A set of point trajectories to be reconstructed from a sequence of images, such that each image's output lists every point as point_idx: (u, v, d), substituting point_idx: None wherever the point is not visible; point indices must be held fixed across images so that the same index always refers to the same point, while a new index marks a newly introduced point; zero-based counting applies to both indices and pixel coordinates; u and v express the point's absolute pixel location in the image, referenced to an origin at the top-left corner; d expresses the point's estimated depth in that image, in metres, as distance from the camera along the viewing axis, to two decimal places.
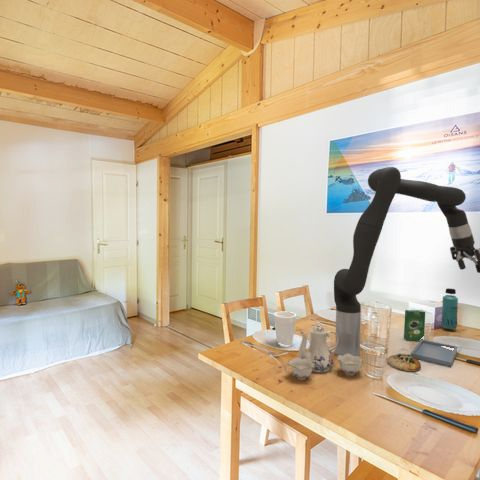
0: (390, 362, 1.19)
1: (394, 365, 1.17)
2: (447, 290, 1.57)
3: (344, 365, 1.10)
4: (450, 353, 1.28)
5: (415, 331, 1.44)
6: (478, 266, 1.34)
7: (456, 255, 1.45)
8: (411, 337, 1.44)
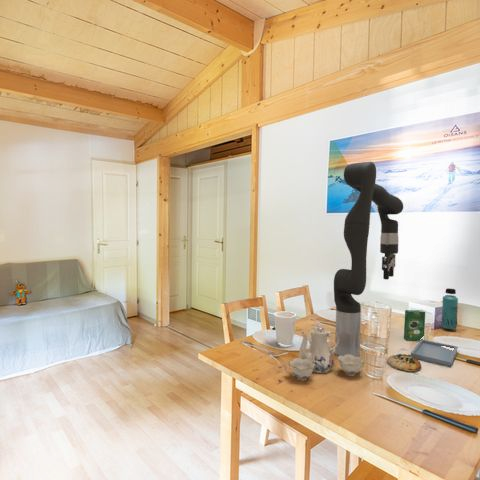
0: (390, 362, 1.19)
1: (394, 365, 1.17)
2: (447, 290, 1.57)
3: (345, 365, 1.10)
4: (450, 353, 1.28)
5: (415, 331, 1.44)
6: (384, 272, 1.48)
7: (394, 263, 1.56)
8: (411, 337, 1.44)
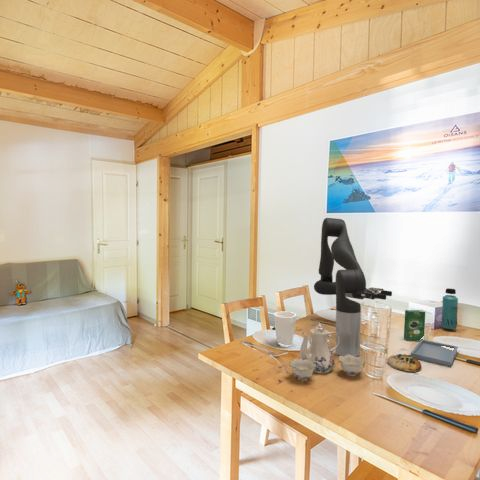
0: (390, 362, 1.19)
1: (394, 365, 1.17)
2: (447, 290, 1.57)
3: (345, 366, 1.10)
4: (450, 353, 1.28)
5: (415, 331, 1.44)
6: None
7: (371, 297, 1.50)
8: (411, 337, 1.44)
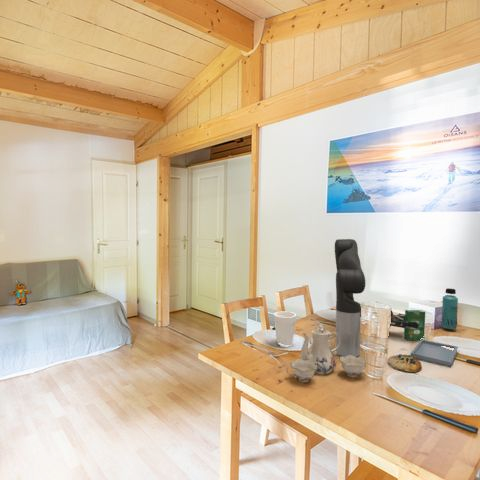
0: (391, 363, 1.18)
1: (395, 366, 1.16)
2: (447, 290, 1.57)
3: (347, 367, 1.09)
4: (450, 353, 1.28)
5: (415, 331, 1.44)
6: None
7: (402, 326, 1.42)
8: (411, 337, 1.44)
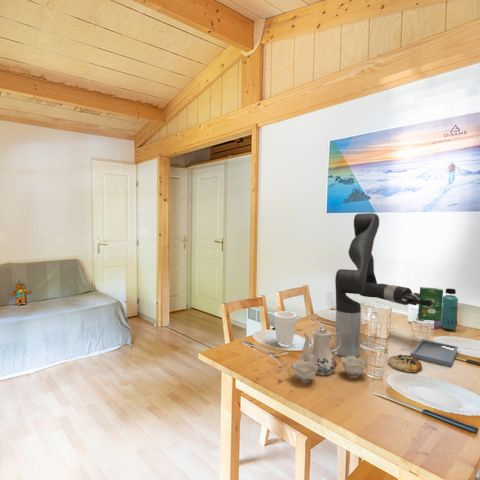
0: (391, 363, 1.18)
1: (395, 366, 1.16)
2: (447, 290, 1.57)
3: (348, 367, 1.09)
4: (450, 353, 1.28)
5: (430, 310, 1.32)
6: None
7: (412, 303, 1.33)
8: (424, 316, 1.33)
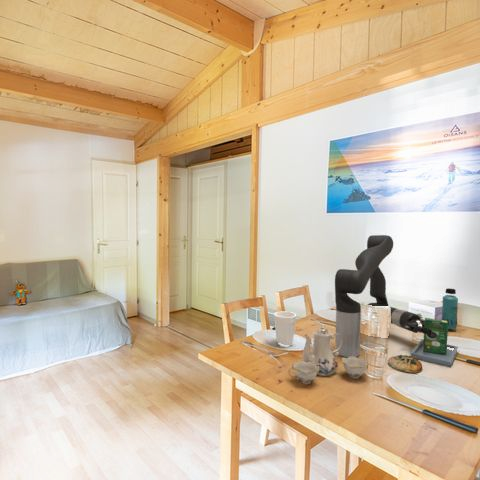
0: (391, 363, 1.18)
1: (395, 366, 1.16)
2: (447, 290, 1.57)
3: (349, 368, 1.08)
4: (450, 353, 1.28)
5: (434, 343, 1.28)
6: None
7: (414, 331, 1.30)
8: (428, 348, 1.29)
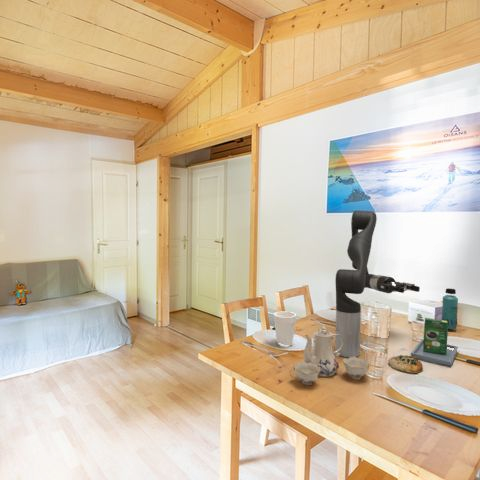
0: (391, 363, 1.18)
1: (395, 367, 1.16)
2: (447, 290, 1.57)
3: (350, 369, 1.08)
4: (450, 353, 1.28)
5: (434, 343, 1.28)
6: None
7: (388, 290, 1.42)
8: (428, 348, 1.29)
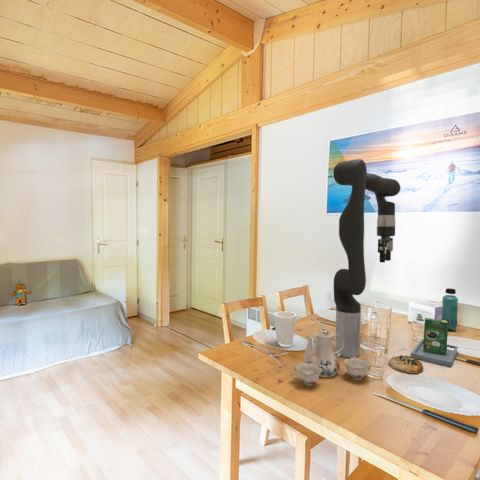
0: (392, 364, 1.17)
1: (396, 367, 1.16)
2: (447, 290, 1.57)
3: (351, 369, 1.07)
4: (450, 353, 1.28)
5: (434, 343, 1.28)
6: None
7: (379, 249, 1.44)
8: (428, 348, 1.29)
